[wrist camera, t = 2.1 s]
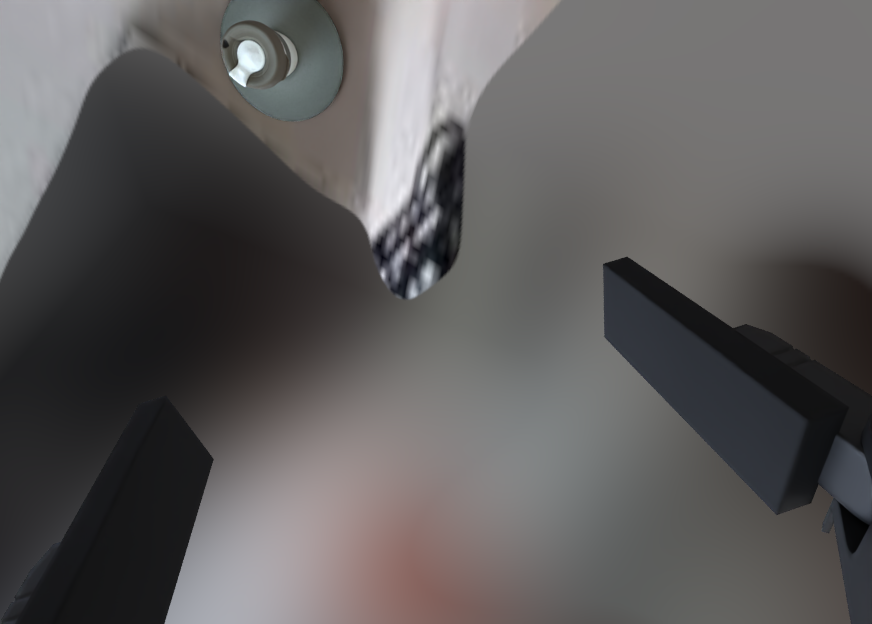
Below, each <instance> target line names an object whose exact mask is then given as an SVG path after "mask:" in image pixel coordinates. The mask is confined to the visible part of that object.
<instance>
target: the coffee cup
mask: <svg viewBox="0 0 872 624" xmlns="http://www.w3.org/2000/svg"><path fill="white" fill-rule="evenodd" d="M221 52H222V58H223V61H224V64H225V67H226V69H227V72H228V74H229V77H230V79H231V81H232V82H233V84H234V86H235V87H236V89H237V90H238V91H239V93H240V94H241V95H242V96H243V97H244V98H245V99H246V100H247V101H248V102H249V103H250V104H251V105H252V106H253V107H255V108H256V109H257V110H259V111H261V112H262V113H264V114H266V115H268V116H270V117H273V118H275V119H279V120H283V121H302V120H306V119H309V118H312V117H314V116H316V115H318V114H319V113H321V112H322V111H323V110H325V109H326V108H327V107H328V106H329V105H330V103H331V102H332V101H333V99H334V97H335V96H336V94H337V92H338V89H339V87H340V84H341V80H342V75H343V52H342V46H341V42H340V38H339V35H338V32H337V30H336V27H335V25H334V23H333V22H332V20H331V18H330V17H329V15H328V13H327V12H326V11H325V9H324V8H323V7H322V6H321V5H320V3H319V2H318V1H317V0H231V2H230V3H229V5H228V7H227V9H226V11H225V14H224V17H223V20H222V25H221Z"/></svg>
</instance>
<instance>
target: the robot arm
mask: <svg viewBox="0 0 872 624" xmlns="http://www.w3.org/2000/svg"><path fill="white" fill-rule="evenodd" d="M603 270H604V272H603V273H604V274H603V276H604V332H605V333H604V334H605V338H606V339H607V340H608V341H609V342H610V343H611V344H612V345H613V346H614V348H616V350H617V351H618V352H619V353H620V354H621V355H622V356H623V357H624V358H625V359H626V360H627V361H628V362H629V363H630V364H631V365H632V366H633V367H634V368H635V369H636V370H637V371H638V372H639V373H640V374H641V375H642V376H643V378H644V379H645V380H646V381H647V382H648V383H649V384H650V385H651V386H652V387H653V388H654V389H655V390H656V391H657V392H658V393H659V394H660V395H661V396H662V397H663V398H664V399H665V400H666V401H667V402H668V403H669V404H670V405H671V406H672V407H673V408H674V409H675V411H676V412H678V413H679V415H680V416H681V417H682V418H683V419H684V420H685V421H686V422H687V423H688V424H689V425H690V426H691V427H692V428H693V429H694V430H695V431H696V432H697V433H698V434H699V435H700V436H701V437H702V438H703V439H704V440H705V442H707V444H708V445H710V447H711V448H712V449H713V450H714V451H715V452H716V453H717V454H718V455H719V456H720V457H721V458H722V459H723V460H724V461H725V462H726V463H727V464H728V465H729V466H730V467H731V468H732V469H733V470H734V471H735V472H736V474H737V475H739V477H740V478H741V479H742V480H743V481H744V482H745V483H746V484H747V485H748V486H749V487H750V488H751V489H752V490H753V491H754V492H755V493H756V494H757V495H758V496H759V497H760V498H761V499H762V500H763V501H764V502H765V503H766V504H767V505H768V506H769V507H770V509H771V510H772V511H773V512H775V514H776V515H778V514H781V513H784V512H787V511H790V510H792V509H795V508H798V507H801V506H804V505H807V504H810V503H811V502H812V499H813V497H814V494H815V492H816V489H817V487H818V484H819V485H820V486H821V487H822V488H823V489H825V490H826V491H827V492H828V493H829V494H830V495H831V496H833V497H834V498H833V501H832V503H831V505H830V508H829V510H828V512H827V514H826V517H825V519H824V521H823V526H822V531H823V532H826V533H829V532H830V530H831V527H832V526H833V523H834V527H835V533H836V539H837V545H838V551H839V556H840V562H841V568H842V574H843V580H844V585H845V591H846V597H847V603H848V609H849V614H850V620H851V624H872V396H871V395H870V394H868V393H866V392H865V391H863V390H861V389H860V388H859V387H857V386H855V385H854V384H852V383H850V382H849V381H847V380H846V379H844V378H843V377H841V376H839V375H838V374H836V373H835V372H833V371H831V370H830V369H828V368H827V367H825V366H823V365H822V364H820V363H819V362H817V361H816V360H811V359H810V357H809V356H808V355H806V354H804V353H803V352H801V351H800V350H798V349H793V346H792V345H790V344H788V343H787V342H785V341H784V340H782V339H781V338H779V337H777V336H776V335H774V334H772V333H770V332H767V331H765V330H762V329H759V328H756V327H753V326H750V325H747V324H745V325H742V326H739V327H736V328H732V327H730V326H729V325H727V324H726V323H724V322H723V321H721V320H720V319H718V318H717V317H715V316H714V315H712V314H711V313H710V312H708V311H707V310H705V309H703V308H702V307H701V306H699V305H698V304H696V303H695V302H693V301H692V300H690V299H689V298H687V297H686V296H685V295H683V294H682V293H680V292H679V291H677V290H676V289H674V288H673V287H671V286H669V285H668V284H667V283H665V282H664V281H662V280H661V279H659V278H658V277H656V276H655V275H654V274H652V273H651V272H649V271H648V270H646V269H644V268H643V267H641V266H640V265H638V264H637V263H636V262H634V261H633V260H631V259H630V258H628V257H625V258H621V259H618V260H615V261H612V262H608V263H605V264H603ZM212 463H213V458H212V457H211V455H210V454H209V452H208V451H207V450H206V448H205V447H204V446H203V444H202V443H201V442H200V440H199V439H198V438H197V436H196V435H195V434H194V432H193V431H192V430H191V428H190V427H189V426H188V424H187V423H186V422H185V421H184V419H183V418H182V416H181V415H180V414H179V412H178V411H177V410H176V408H175V407H174V406H173V405H172V403H171V402H170V400H169V399H168V398H167V396H163V397H160V398H157V399H153V400H150V401H147V402H144V403H140V404H139V405H138V406H137V408H136V410H135V412H134V413H133V415H132V417H131V419H130V421H129V422H128V424H127V426H126V428H125V429H124V431H123V433H122V435H121V437H120V438H119V440H118V442H117V444H116V445H115V447H114V449H113V451H112V453H111V454H110V456H109V458H108V460H107V461H106V463H105V465H104V467H103V469H102V470H101V472H100V474H99V476H98V477H97V479H96V481H95V483H94V485H93V486H92V488H91V490H90V492H89V493H88V495H87V497H86V499H85V500H84V502H83V504H82V506H81V508H80V509H79V511H78V513H77V515H76V516H75V518H74V520H73V522H72V524H71V526H70V527H69V529H68V531H67V532H66V534H65V536H64V538H63V539H62V541H61V542H59V543H56V544H53V545H52V547H51V548H50V549H49V550H48V551H47V552H46V553H45V555H44V556H43V557H42V558H41V559H40V560H39V561H38V562H37V563H36V565H35V566H34V567H33V568H32V569H31V570H30V572H29V574H28V575H27V577H26V579H25V580H24V582H23V584H22V585H21V587H20V589H19V591H18V592H17V594H16V596H15V601H14V602H12V603H11V604H10V606H9V607H8V609H7V611H6V612H5V614H4V616H3V618H2V619H1V620H2V624H164V623H165V619H166V616H167V613H168V609H169V606H170V603H171V600H172V596H173V593H174V590H175V586H176V583H177V580H178V576H179V573H180V570H181V566H182V563H183V560H184V556H185V553H186V549H187V546H188V543H189V539H190V536H191V533H192V529H193V526H194V522H195V519H196V516H197V513H198V509H199V506H200V503H201V499H202V496H203V493H204V489H205V486H206V483H207V479H208V476H209V473H210V469H211V466H212Z"/></svg>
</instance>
